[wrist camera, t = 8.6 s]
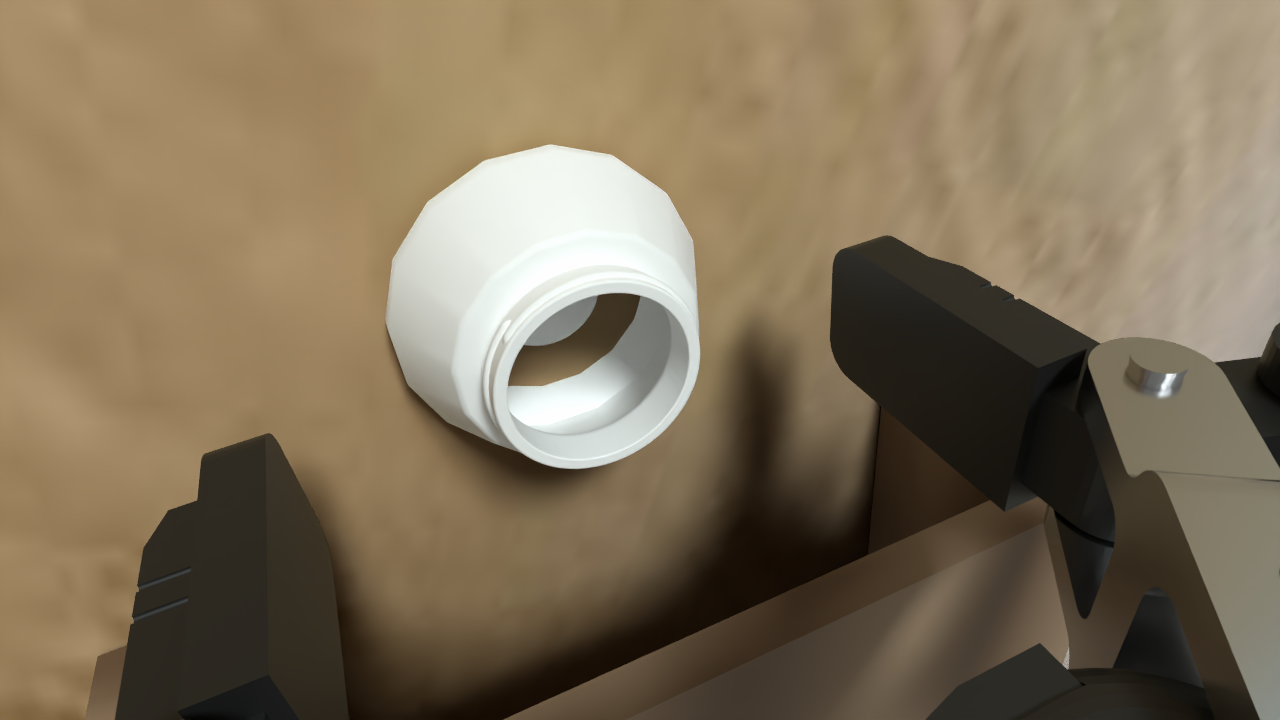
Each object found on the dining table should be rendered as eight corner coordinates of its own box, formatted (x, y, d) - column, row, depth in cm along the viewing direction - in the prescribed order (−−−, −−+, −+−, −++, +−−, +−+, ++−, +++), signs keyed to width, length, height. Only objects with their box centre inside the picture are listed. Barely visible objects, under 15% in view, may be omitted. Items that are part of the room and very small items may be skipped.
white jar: (727, 234, 14) (494, 72, 11) (822, 306, 11) (558, 126, 8) (574, 447, 15) (324, 354, 12) (631, 552, 12) (340, 470, 10)
